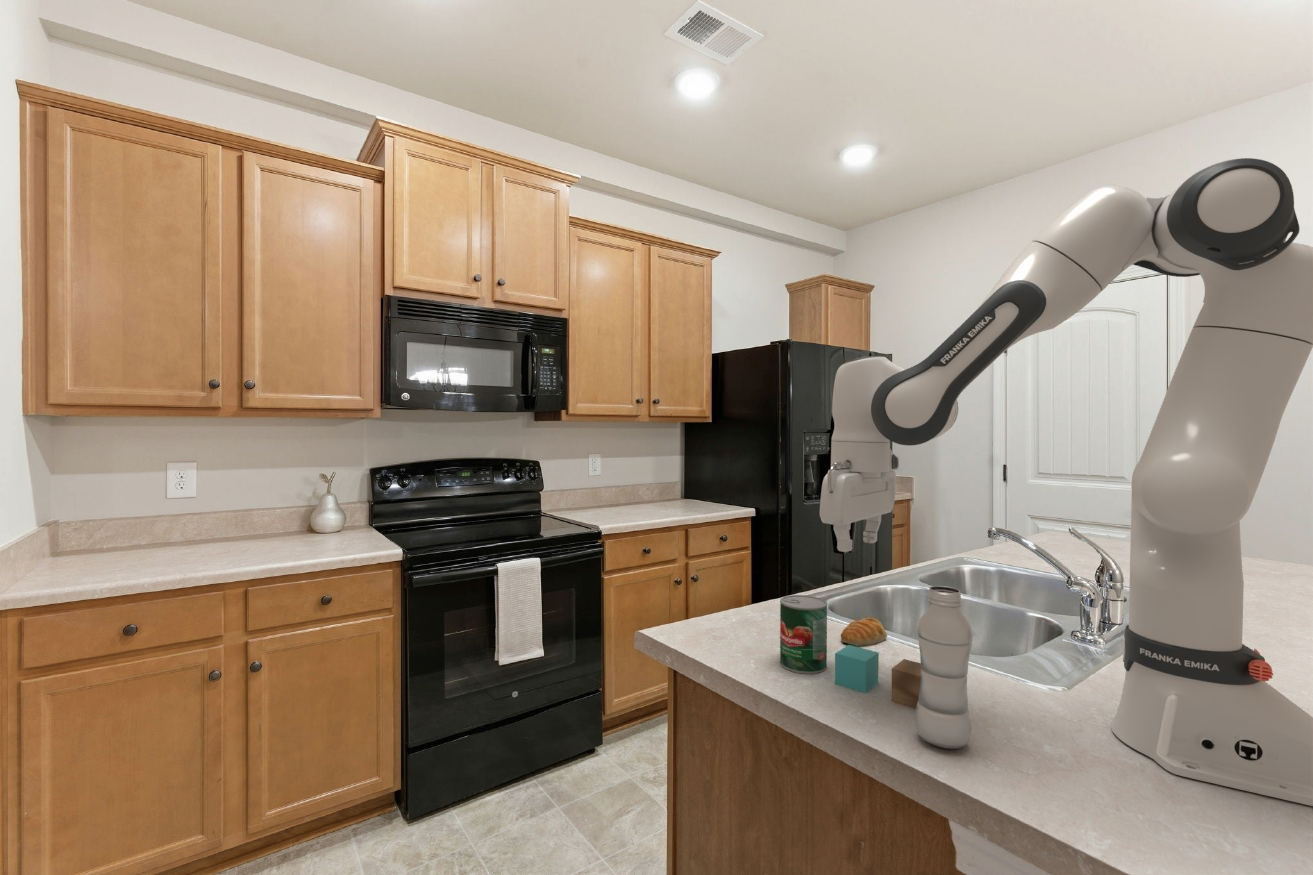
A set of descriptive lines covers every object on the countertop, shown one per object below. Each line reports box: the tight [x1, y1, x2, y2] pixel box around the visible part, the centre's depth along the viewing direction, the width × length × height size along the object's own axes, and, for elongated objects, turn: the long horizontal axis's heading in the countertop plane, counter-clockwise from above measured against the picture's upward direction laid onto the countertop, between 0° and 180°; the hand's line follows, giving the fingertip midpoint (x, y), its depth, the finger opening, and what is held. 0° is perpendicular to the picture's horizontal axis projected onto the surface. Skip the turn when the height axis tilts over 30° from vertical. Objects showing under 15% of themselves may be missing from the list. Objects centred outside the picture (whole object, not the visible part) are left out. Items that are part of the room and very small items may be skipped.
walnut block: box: [890, 658, 921, 709], centre depth 91 cm, size 5×5×5 cm
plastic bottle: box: [914, 585, 974, 750], centre depth 79 cm, size 6×7×20 cm
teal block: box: [834, 644, 880, 694], centre depth 97 cm, size 5×5×5 cm
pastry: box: [840, 617, 888, 647], centre depth 117 cm, size 9×7×4 cm
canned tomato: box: [779, 594, 828, 675], centre depth 105 cm, size 8×8×11 cm
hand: (857, 546), depth 97 cm, fingers open, 8 cm apart
